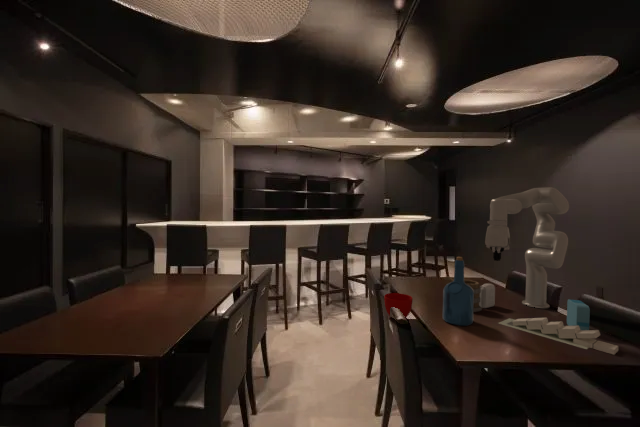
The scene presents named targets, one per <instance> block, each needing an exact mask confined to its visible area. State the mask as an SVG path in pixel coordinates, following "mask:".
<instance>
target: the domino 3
mask: <svg viewBox="0 0 640 427" xmlns="http://www.w3.org/2000/svg"><path fill="white" fill-rule="evenodd" d="M579 331H580V327H579V325H576V326H569V325H564V326H563V327H561V328H560V329H541V332H542V334H565V333H577V332H579Z"/></svg>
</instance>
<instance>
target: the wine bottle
mask: <svg viewBox="0 0 640 427" xmlns="http://www.w3.org/2000/svg"><path fill="white" fill-rule="evenodd" d="M453 267H454V271H453V280H454V281H453V282H450V283H449V282H448V283H446V285H444V287H443V290H442V315H441V316H442V320H443V321H445V322H446V323H448V324H452V325H455V326H461V327H463V326H465V327H467V326H471V325H473V322H474V313H475V312H474V290H473V288H472V287H471V286H469V285H467V284H466V283H465V282H464V280H465V260H464V259H463V256H456V259H454V265H453Z"/></svg>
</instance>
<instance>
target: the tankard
mask: <svg viewBox="0 0 640 427" xmlns="http://www.w3.org/2000/svg"><path fill="white" fill-rule="evenodd" d="M443 279H444V281H449V282H448V283H450V282H453V281H454V278H452V277H450V276H449V275H447V276H446V275H445V276H444V277H443ZM464 282H465V283H466V284H467V285H469V286H471V287H472V288H473V290H474V313H478V312H481V311H483V310H482V309H483V308H481V307H480V306H479V302H480V297H479V293H481V288H480V283H479V282H478V281H476V280H471V279H464Z"/></svg>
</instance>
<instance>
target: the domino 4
mask: <svg viewBox="0 0 640 427" xmlns="http://www.w3.org/2000/svg"><path fill="white" fill-rule="evenodd" d="M558 336H559V338H591V339H597V338H598V337H600V336H601V332H600V330H599V329H589V330H580V331H579V332H577V333H565V334H558Z"/></svg>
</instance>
